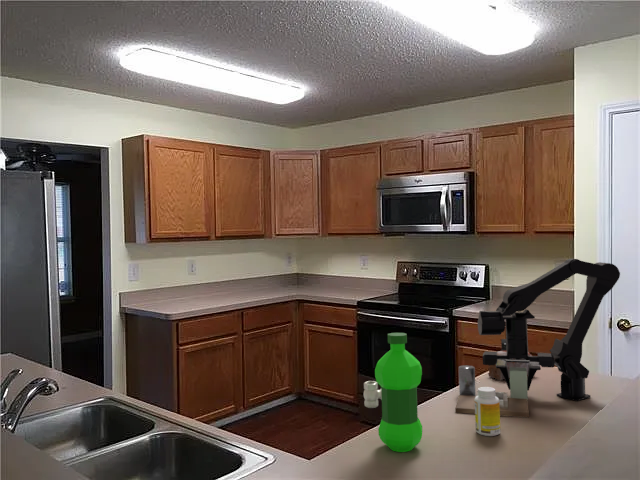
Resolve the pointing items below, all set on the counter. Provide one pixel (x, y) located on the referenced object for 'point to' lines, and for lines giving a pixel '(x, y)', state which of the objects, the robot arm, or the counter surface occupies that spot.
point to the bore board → (507, 405)
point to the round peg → (467, 380)
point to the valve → (371, 394)
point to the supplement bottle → (487, 412)
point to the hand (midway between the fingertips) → (518, 389)
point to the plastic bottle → (399, 395)
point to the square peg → (518, 383)
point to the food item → (497, 372)
